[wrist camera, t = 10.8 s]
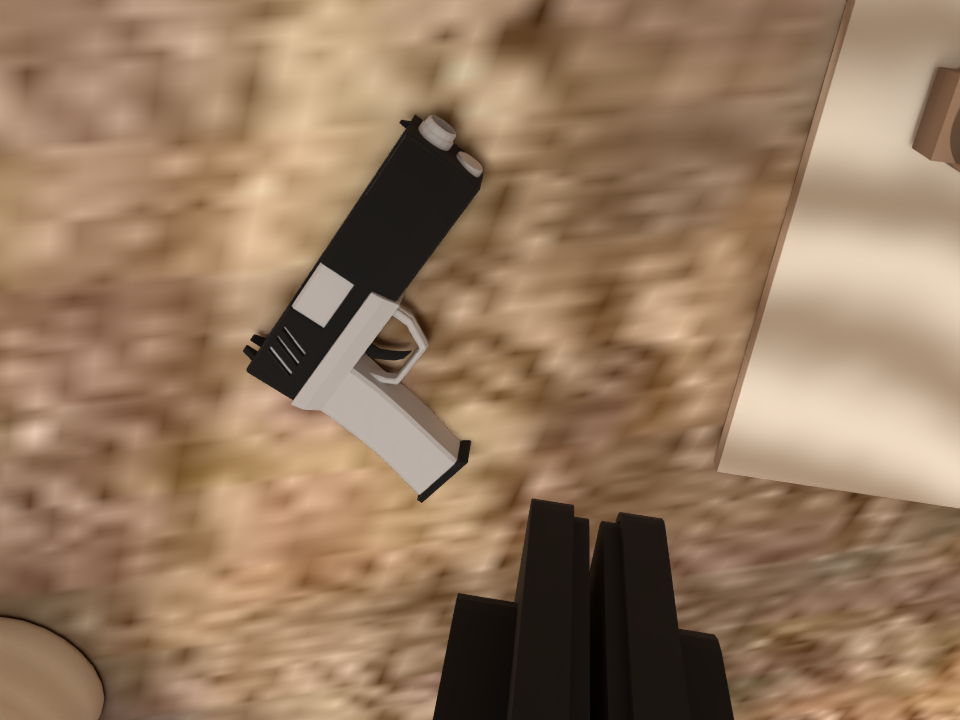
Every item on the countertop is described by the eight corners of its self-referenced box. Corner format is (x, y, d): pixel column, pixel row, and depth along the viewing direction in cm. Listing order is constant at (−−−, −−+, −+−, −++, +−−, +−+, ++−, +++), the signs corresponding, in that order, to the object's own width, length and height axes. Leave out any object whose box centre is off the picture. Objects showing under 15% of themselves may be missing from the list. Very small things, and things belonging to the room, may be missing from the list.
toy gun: (638, 280, 35) (401, 107, 32) (427, 512, 42) (218, 387, 39) (632, 251, 38) (413, 90, 35) (435, 473, 45) (240, 354, 42)
